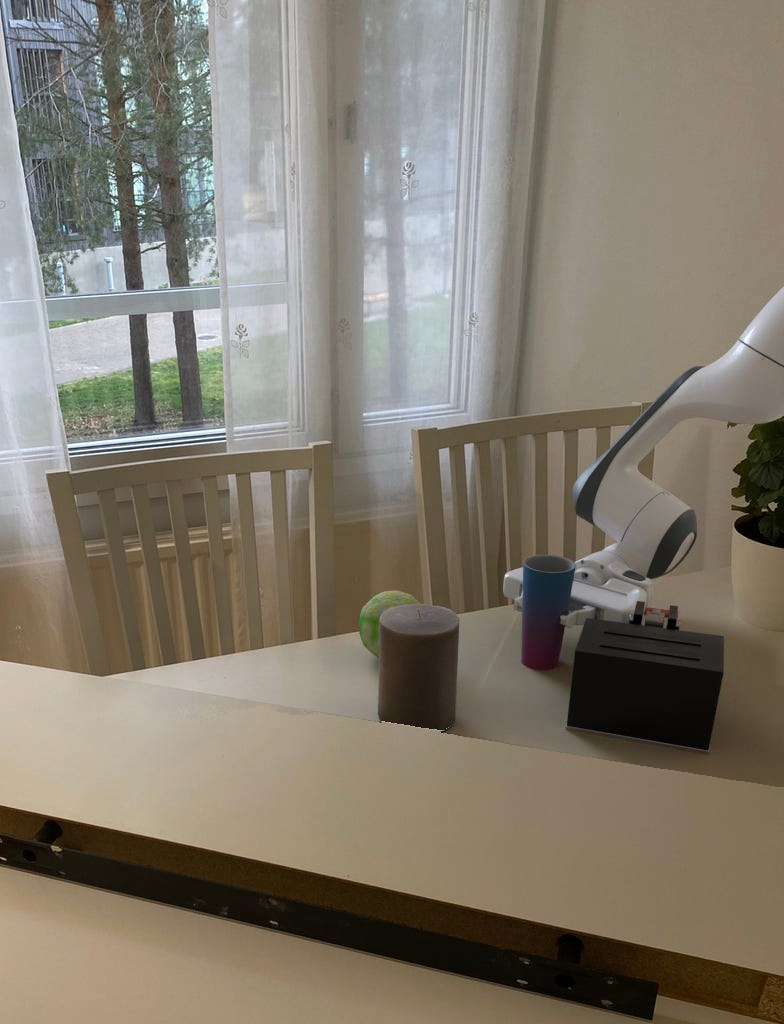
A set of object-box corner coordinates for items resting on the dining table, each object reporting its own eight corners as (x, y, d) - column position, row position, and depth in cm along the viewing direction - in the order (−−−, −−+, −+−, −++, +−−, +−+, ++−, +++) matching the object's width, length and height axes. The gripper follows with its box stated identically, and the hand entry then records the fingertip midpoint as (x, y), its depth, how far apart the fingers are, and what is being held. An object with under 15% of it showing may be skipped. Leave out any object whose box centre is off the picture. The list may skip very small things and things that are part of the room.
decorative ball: (441, 660, 129) (444, 595, 125) (387, 680, 124) (388, 613, 120) (397, 636, 137) (398, 574, 132) (343, 654, 132) (343, 590, 127)
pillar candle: (427, 746, 109) (431, 632, 102) (362, 720, 115) (362, 611, 108) (470, 713, 116) (476, 605, 109) (406, 691, 121) (409, 586, 115)
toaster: (709, 715, 114) (725, 634, 109) (708, 757, 105) (725, 671, 100) (576, 693, 120) (585, 616, 115) (564, 731, 111) (574, 649, 106)
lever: (634, 617, 126) (636, 600, 125) (676, 623, 124) (679, 606, 123) (629, 630, 115) (632, 612, 115) (675, 636, 113) (679, 618, 113)
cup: (505, 657, 130) (513, 558, 123) (548, 650, 131) (558, 552, 125) (530, 678, 124) (540, 575, 117) (574, 670, 125) (586, 568, 119)
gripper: (536, 548, 137) (480, 572, 129) (664, 583, 124) (611, 613, 115) (532, 587, 140) (477, 613, 132) (657, 625, 127) (605, 657, 118)
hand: (541, 613), depth 123 cm, fingers closed on cup, 6 cm apart
